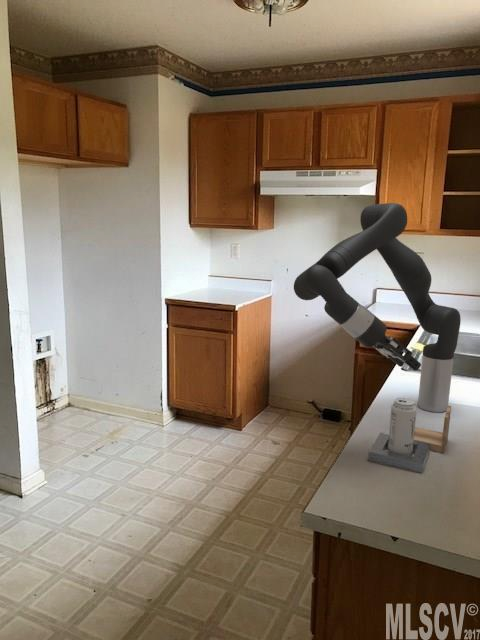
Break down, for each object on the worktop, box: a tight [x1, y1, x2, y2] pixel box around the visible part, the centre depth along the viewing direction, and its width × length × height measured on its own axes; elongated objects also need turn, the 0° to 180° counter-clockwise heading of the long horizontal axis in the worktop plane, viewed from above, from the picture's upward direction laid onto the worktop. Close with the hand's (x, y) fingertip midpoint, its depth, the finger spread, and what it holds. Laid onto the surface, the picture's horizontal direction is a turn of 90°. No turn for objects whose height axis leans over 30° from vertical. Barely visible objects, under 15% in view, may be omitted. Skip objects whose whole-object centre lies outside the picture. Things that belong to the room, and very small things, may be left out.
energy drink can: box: [387, 397, 417, 456], centre depth 133 cm, size 6×6×15 cm
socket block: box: [368, 432, 430, 474], centre depth 135 cm, size 13×13×2 cm
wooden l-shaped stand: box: [414, 405, 452, 454], centre depth 142 cm, size 9×9×10 cm
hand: (410, 365), depth 131 cm, fingers open, 8 cm apart
